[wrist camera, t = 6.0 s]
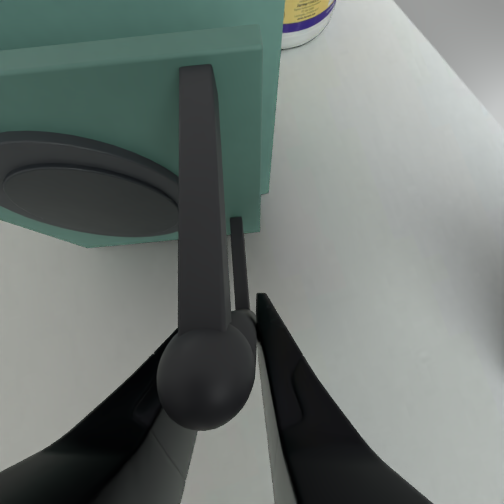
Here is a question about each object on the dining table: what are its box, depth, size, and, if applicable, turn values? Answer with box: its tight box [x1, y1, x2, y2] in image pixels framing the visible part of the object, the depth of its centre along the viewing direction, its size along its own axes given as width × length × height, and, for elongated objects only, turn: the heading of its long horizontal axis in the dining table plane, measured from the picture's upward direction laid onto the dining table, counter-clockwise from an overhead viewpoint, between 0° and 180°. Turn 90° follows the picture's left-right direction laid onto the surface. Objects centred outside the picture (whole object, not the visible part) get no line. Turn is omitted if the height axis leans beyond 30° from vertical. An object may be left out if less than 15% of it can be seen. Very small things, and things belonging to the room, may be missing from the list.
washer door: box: [0, 24, 263, 431], centre depth 9 cm, size 8×14×12 cm, turn 95°
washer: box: [0, 0, 285, 195], centre depth 12 cm, size 12×16×14 cm
